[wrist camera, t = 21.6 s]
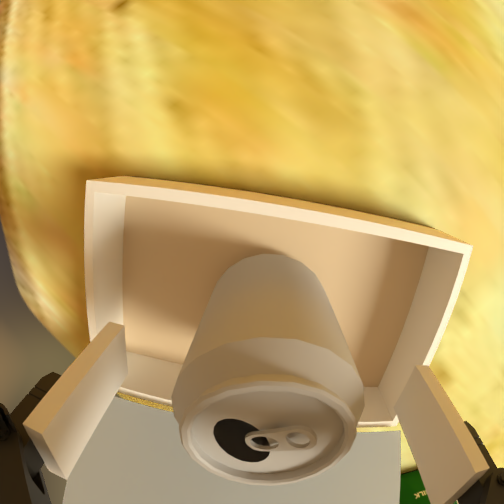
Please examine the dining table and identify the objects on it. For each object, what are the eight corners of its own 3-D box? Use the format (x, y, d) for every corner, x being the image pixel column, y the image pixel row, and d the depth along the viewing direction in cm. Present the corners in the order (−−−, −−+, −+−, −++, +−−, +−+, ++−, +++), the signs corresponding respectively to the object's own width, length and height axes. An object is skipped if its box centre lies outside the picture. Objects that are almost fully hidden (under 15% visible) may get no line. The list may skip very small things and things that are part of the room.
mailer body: (124, 175, 19) (86, 180, 14) (434, 228, 19) (473, 245, 14) (122, 349, 23) (96, 385, 18) (379, 386, 23) (396, 426, 18)
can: (193, 275, 20) (117, 399, 8) (301, 231, 19) (348, 330, 7) (241, 362, 22) (221, 504, 10) (338, 328, 21) (388, 466, 9)
